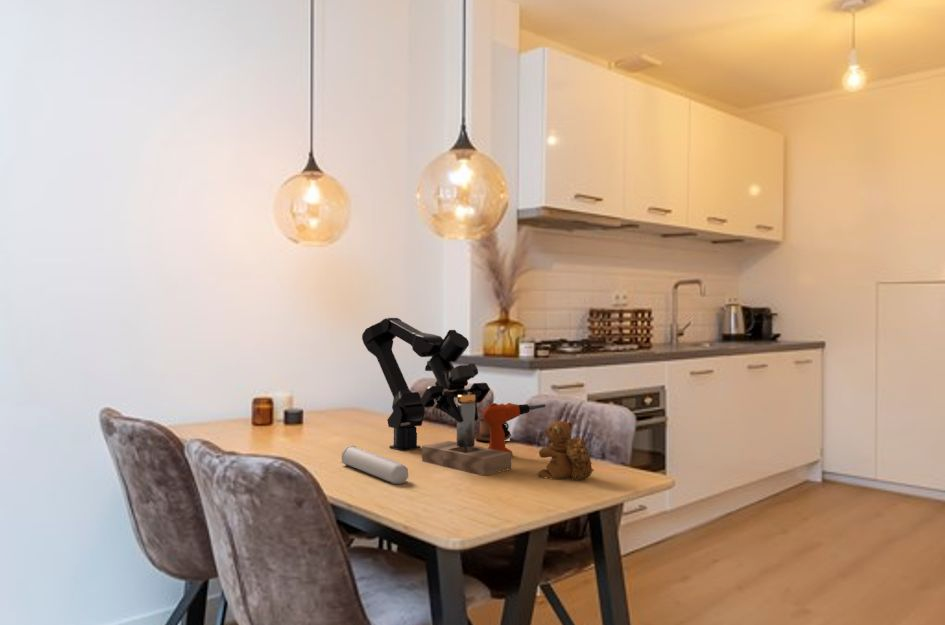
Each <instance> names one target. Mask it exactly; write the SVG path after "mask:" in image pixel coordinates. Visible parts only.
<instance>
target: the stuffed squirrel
mask: <svg viewBox="0 0 945 625" xmlns="http://www.w3.org/2000/svg"><path fill="white" fill-rule="evenodd" d="M573 425H574V423H573V421H568V422H566V421H563V420H556V421H554V422H551V423H550V424H549V425H548V426H547V427H546V430H545V431H544V433H543V436H542V438H543V439H544V440H546V437H547V438H548V440H550V441H551V442H550V443H548V444H547V447H542V448H540V449H539V452H538V453H539V457H540V458H542V459H543V458H551V459H550V461H548V462H549V463H548V464H547V465H546V466H545V468H544V469H541V470H539V471H538V474H537V475H538V477H540V476H542V477H541V478H544V477H547V478H546V479H549V478H552V479H551V480H567V478H568V479H570V480H572V479H573V481H581V479H582V480H586V479H588V478H589V477H591V475H592V473H593V472H594V469H593V468H592V464H593V463H592V461H591V457H590V455H589V454H590V452H589V450H588V449H587V447H586V444H585V443H584V439H582V438H579V437H573V438H571V437H572V436H571V429H572V427H573Z"/></svg>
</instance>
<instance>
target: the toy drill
mask: <svg viewBox="0 0 945 625" xmlns="http://www.w3.org/2000/svg"><path fill="white" fill-rule="evenodd" d="M546 406H547V405H546V404H545V403H542V404H536V405H534V404H533V405H529V404H526V403H524V404H518V403H517V404H516V403H511V402H508V403H505V404H504V403H500V404H498V403H496V402H492V403H489V405H488V406H487V407H485V409H483V411H482V419H484V421H485V422H486V423H487V424H488V425H489V427H490V442H489V446H488V447H487V448H488V449H493V450H499V451H504V452H509V453H512V455H513V452H512V450H511V449H509V448H508V447H506V440H505V438H506V437H507V436H508V435H509V434H511V431H509V428H508V429H507V425H506V424H503V423H505V422H507V423H508V422H509V421H511V420H515V419H516V418H517V417H520V416H521V415H525V414H528V413H529V412H530V411H531V410H537V409H542V408H546Z"/></svg>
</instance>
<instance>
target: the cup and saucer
mask: <svg viewBox="0 0 945 625" xmlns="http://www.w3.org/2000/svg"><path fill="white" fill-rule="evenodd" d="M503 424H505V425H506V427H507V429H508V430H509V428H510V427H509V426H510V425H509V423H508V421H507V422H505V423H503ZM511 437H512V434H511V433H510V434H509V435H508V436H507V437H506V438H505V441H506V440H508V439H511ZM475 440H478V441H482V442H486V443H487V442H489V443H490V427H489V425H488V424H487V423H486V422H485V421H484V419H483V418H481V419H479V431H475Z"/></svg>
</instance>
